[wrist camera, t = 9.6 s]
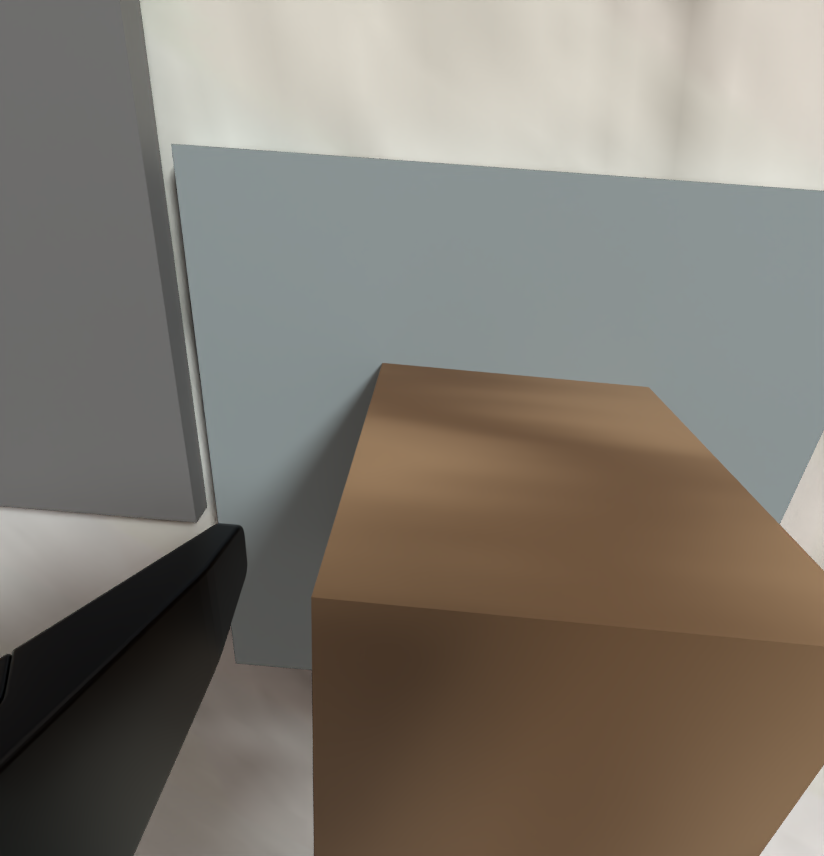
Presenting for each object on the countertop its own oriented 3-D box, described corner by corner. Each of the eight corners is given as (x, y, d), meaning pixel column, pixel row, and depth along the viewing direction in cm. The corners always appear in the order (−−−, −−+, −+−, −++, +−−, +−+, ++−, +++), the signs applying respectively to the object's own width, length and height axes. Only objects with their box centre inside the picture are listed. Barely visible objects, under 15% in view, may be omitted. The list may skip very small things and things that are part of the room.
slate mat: (243, 644, 14) (235, 663, 14) (187, 145, 9) (171, 143, 8) (686, 683, 14) (696, 703, 14) (900, 196, 9) (931, 198, 8)
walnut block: (370, 568, 12) (314, 890, 7) (382, 362, 10) (310, 597, 4) (587, 588, 12) (706, 929, 7) (649, 386, 10) (902, 654, 4)
